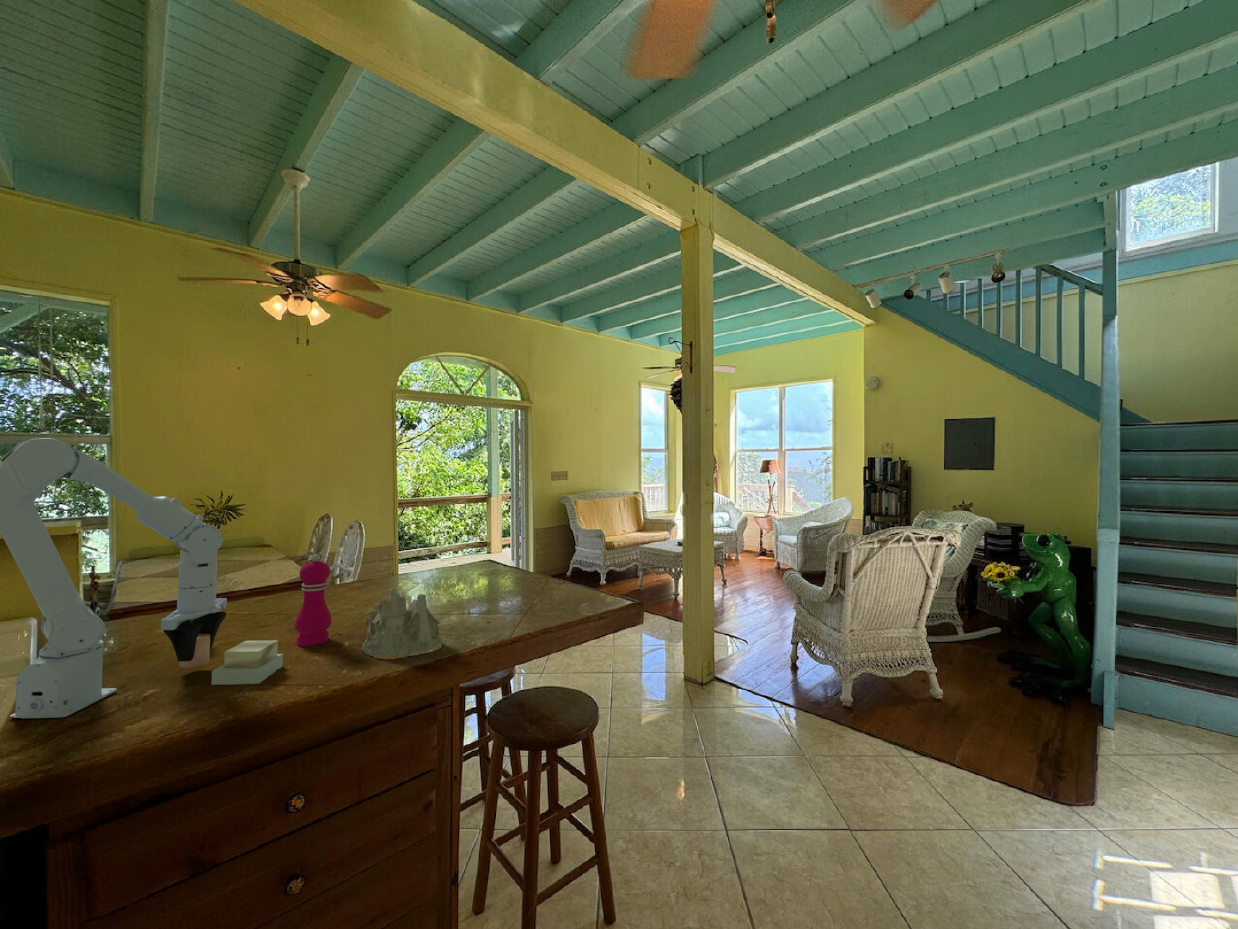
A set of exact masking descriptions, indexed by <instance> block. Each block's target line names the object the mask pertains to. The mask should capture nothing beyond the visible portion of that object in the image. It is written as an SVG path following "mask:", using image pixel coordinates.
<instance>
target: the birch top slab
mask: <svg viewBox="0 0 1238 929" xmlns="http://www.w3.org/2000/svg"><path fill="white" fill-rule="evenodd" d="M278 644H279V640H245V641H243V642H240V643H239V644H236V645H235V646H233V647H231V648H229V649H227V650H225V651H224V661H223V664H224V668H258V667H260V666H262V665H263V664H265V663H266V662H268V661H270V660H271V659H273V658H274V657H276V656H277V654H278V650H279V647H278V646H279V645H278Z"/></svg>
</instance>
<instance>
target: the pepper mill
mask: <svg viewBox="0 0 1238 929" xmlns="http://www.w3.org/2000/svg"><path fill="white" fill-rule="evenodd" d="M320 559H321V557H320V555H319V554H313V555H311V556H310V561H308V562H306V563H304V564H303V565H302V566H301V567H300V569H299V573H298V574H299V578H300V580H301V581H302V582H303V583H301V590H302V591H303V602H302V605H301V607H300V609H299V611H298V613H297V616H296V617H295V621H294V629H295V630H296V632H298V633H299V634H298V635H297V636H296V645H297V646H298V645H299V647H305V646H308V647H314V646H313V645H316V646H318V645H317V644H320V645H323V644H325V643H327V642H328V641H329V640H330V639H329V636H330V632H329V631H328V629H329V627H330V626H331V625H332V614H331V611H330V609H329V608H328V606H327V603H326V600H325V598H326V597H325V592H326V589H327V588H328V581H326V580H328V578H329V577H330V575H331V569H330V566H329V564H328V563H327V562H325V561H322V560H320ZM328 639H329V640H328ZM326 641H327V642H326ZM322 643H323V644H322Z"/></svg>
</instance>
